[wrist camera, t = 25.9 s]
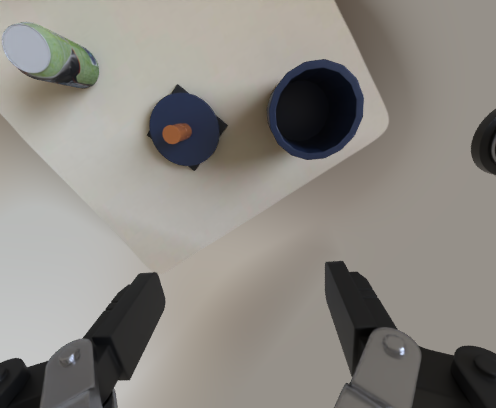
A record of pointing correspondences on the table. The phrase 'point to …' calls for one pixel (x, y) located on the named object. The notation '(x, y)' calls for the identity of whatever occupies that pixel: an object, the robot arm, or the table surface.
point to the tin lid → (184, 129)
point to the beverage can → (49, 56)
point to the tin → (315, 109)
